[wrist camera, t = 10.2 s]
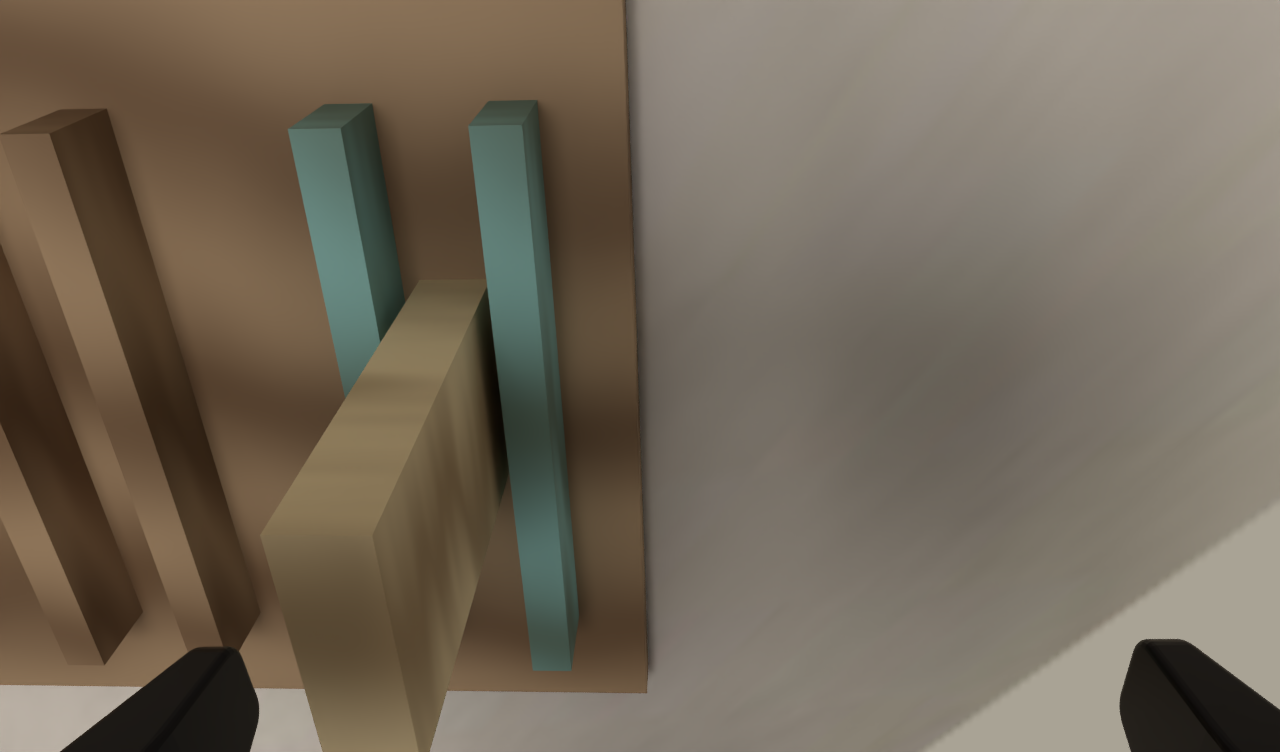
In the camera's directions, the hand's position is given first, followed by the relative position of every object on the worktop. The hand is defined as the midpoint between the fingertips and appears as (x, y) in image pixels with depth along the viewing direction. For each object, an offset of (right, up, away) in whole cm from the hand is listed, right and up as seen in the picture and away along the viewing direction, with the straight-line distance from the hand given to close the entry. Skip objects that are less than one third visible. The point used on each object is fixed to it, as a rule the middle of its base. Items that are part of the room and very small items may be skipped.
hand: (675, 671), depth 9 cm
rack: (-12, +3, +14) cm, 19 cm away
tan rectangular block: (-4, +3, +13) cm, 14 cm away
